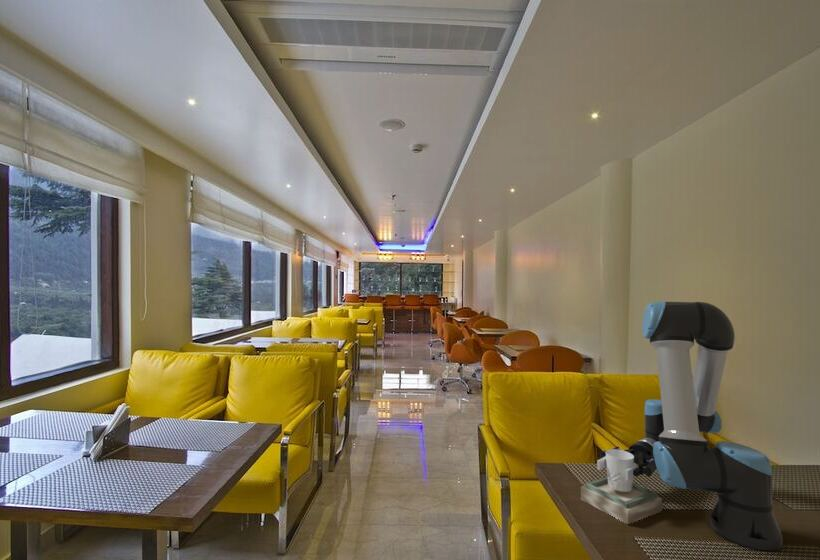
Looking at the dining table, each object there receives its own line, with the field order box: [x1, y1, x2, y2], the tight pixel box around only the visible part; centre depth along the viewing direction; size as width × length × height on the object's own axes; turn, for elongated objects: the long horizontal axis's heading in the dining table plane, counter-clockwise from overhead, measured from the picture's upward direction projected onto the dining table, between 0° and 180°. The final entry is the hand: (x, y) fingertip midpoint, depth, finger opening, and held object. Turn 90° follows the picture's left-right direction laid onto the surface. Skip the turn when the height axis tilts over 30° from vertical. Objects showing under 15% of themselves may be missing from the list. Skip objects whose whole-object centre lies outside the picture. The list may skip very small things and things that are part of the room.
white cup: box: [605, 448, 635, 492], centre depth 124 cm, size 8×8×10 cm
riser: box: [580, 476, 663, 525], centre depth 124 cm, size 16×16×5 cm
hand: (612, 470), depth 121 cm, fingers open, 8 cm apart
